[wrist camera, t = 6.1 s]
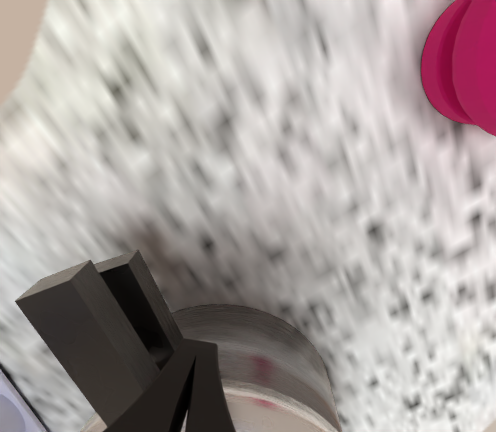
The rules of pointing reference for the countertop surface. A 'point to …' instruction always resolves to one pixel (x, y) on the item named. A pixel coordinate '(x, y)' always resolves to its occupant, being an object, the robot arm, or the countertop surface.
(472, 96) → the pepper mill
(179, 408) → the robot arm
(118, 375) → the cooker lid
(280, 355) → the cooker pot
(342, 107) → the countertop surface
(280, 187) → the countertop surface
